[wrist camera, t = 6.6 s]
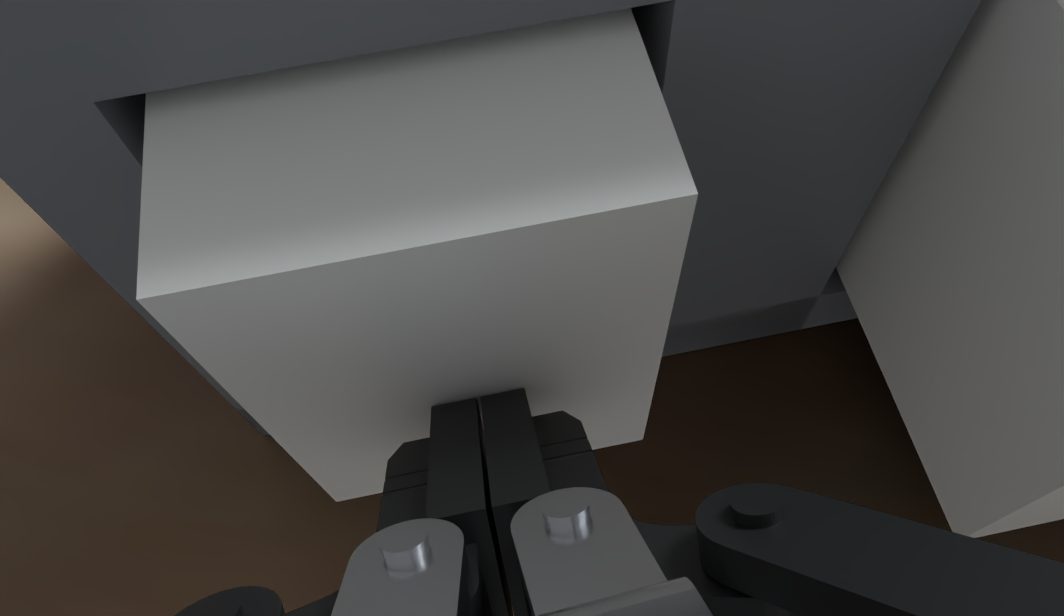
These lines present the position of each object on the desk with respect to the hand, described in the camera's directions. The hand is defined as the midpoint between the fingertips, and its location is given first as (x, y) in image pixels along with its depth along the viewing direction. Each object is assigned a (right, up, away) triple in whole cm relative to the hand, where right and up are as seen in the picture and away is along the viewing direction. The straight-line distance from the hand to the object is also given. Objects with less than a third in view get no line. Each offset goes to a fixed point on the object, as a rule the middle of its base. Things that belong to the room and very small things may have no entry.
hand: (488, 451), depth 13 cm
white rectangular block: (-1, +3, +5) cm, 6 cm away
